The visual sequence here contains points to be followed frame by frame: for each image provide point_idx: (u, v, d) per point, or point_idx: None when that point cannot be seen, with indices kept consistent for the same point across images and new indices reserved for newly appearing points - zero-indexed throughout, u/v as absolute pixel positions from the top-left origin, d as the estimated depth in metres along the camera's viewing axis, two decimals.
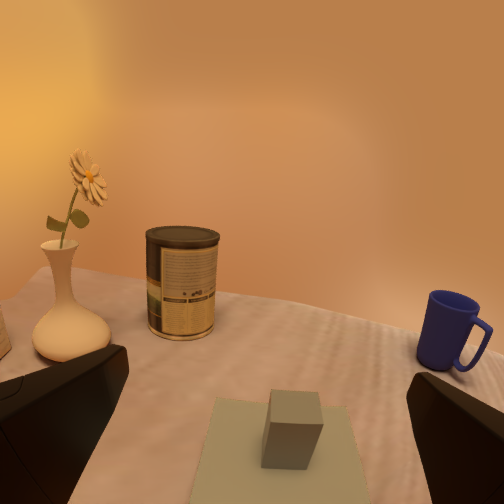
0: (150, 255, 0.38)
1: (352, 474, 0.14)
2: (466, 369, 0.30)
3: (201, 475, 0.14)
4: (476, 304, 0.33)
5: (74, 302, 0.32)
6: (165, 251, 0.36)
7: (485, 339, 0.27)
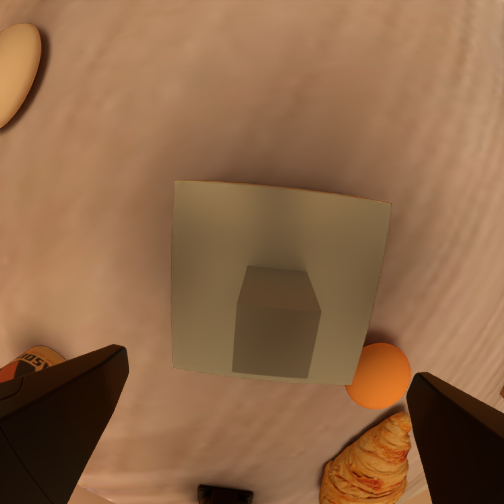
0: None
1: (351, 337, 0.15)
2: None
3: (176, 331, 0.15)
4: None
5: None
6: None
7: None
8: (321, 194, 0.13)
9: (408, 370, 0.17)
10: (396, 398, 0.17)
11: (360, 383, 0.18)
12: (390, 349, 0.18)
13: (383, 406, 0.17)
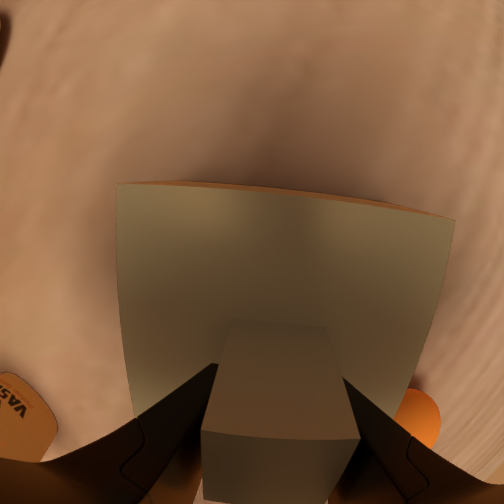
0: None
1: (381, 407, 0.09)
2: None
3: (137, 396, 0.10)
4: None
5: None
6: None
7: None
8: (353, 205, 0.08)
9: (439, 423, 0.12)
10: None
11: None
12: (419, 399, 0.13)
13: None
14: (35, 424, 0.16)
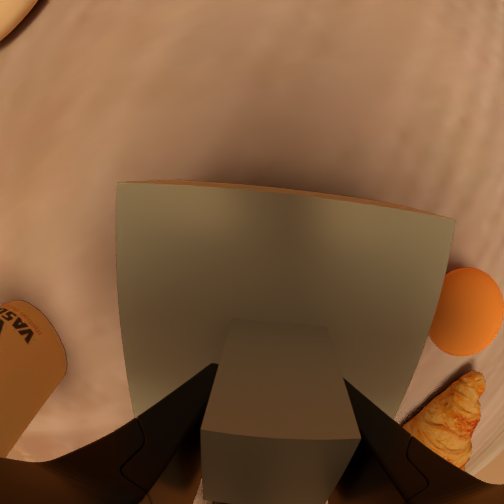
0: None
1: (381, 407, 0.09)
2: None
3: (137, 396, 0.10)
4: None
5: None
6: None
7: None
8: (354, 204, 0.08)
9: (502, 298, 0.12)
10: (494, 335, 0.11)
11: (455, 314, 0.12)
12: (480, 271, 0.13)
13: (480, 348, 0.12)
14: (41, 353, 0.16)
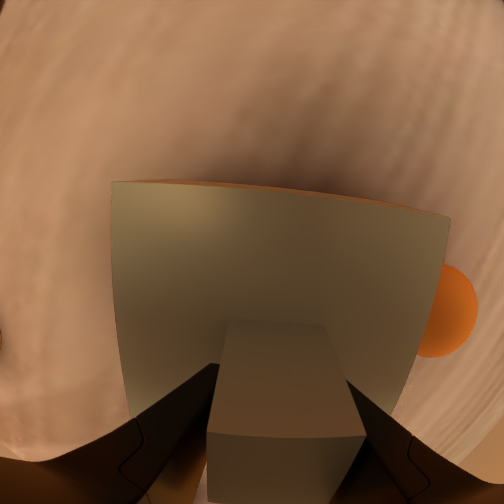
0: None
1: (379, 404, 0.09)
2: None
3: (134, 398, 0.10)
4: None
5: None
6: None
7: None
8: (351, 203, 0.08)
9: None
10: None
11: None
12: (442, 265, 0.13)
13: None
14: None
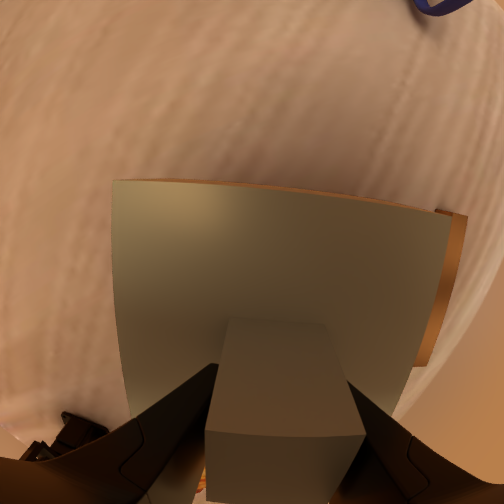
0: None
1: (380, 404, 0.09)
2: (425, 12, 0.14)
3: (134, 397, 0.10)
4: None
5: None
6: None
7: None
8: (351, 201, 0.08)
9: None
10: None
11: None
12: None
13: None
14: None
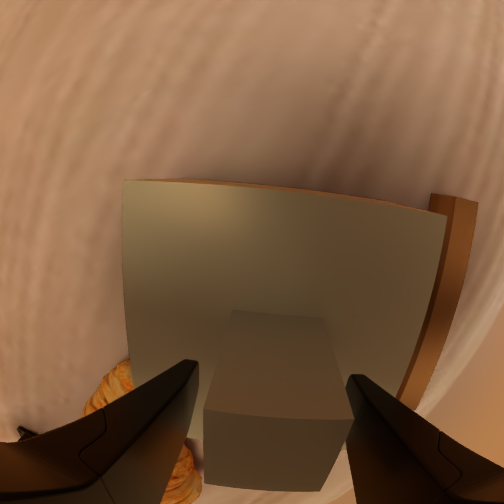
0: None
1: None
2: None
3: None
4: None
5: None
6: None
7: None
8: (348, 201, 0.08)
9: None
10: None
11: None
12: None
13: None
14: None
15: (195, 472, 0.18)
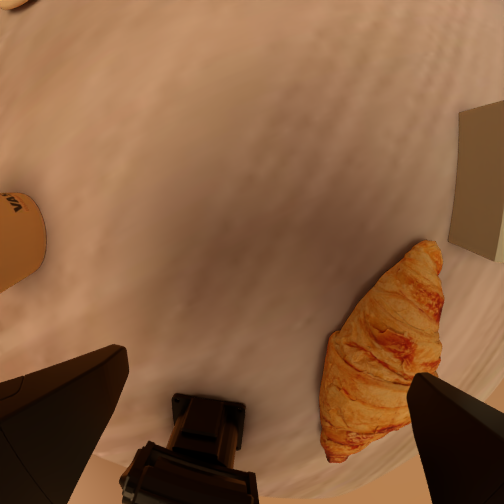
0: None
1: None
2: None
3: None
4: None
5: None
6: None
7: None
8: None
9: None
10: None
11: None
12: None
13: None
14: (25, 224, 0.19)
15: None
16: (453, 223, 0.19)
